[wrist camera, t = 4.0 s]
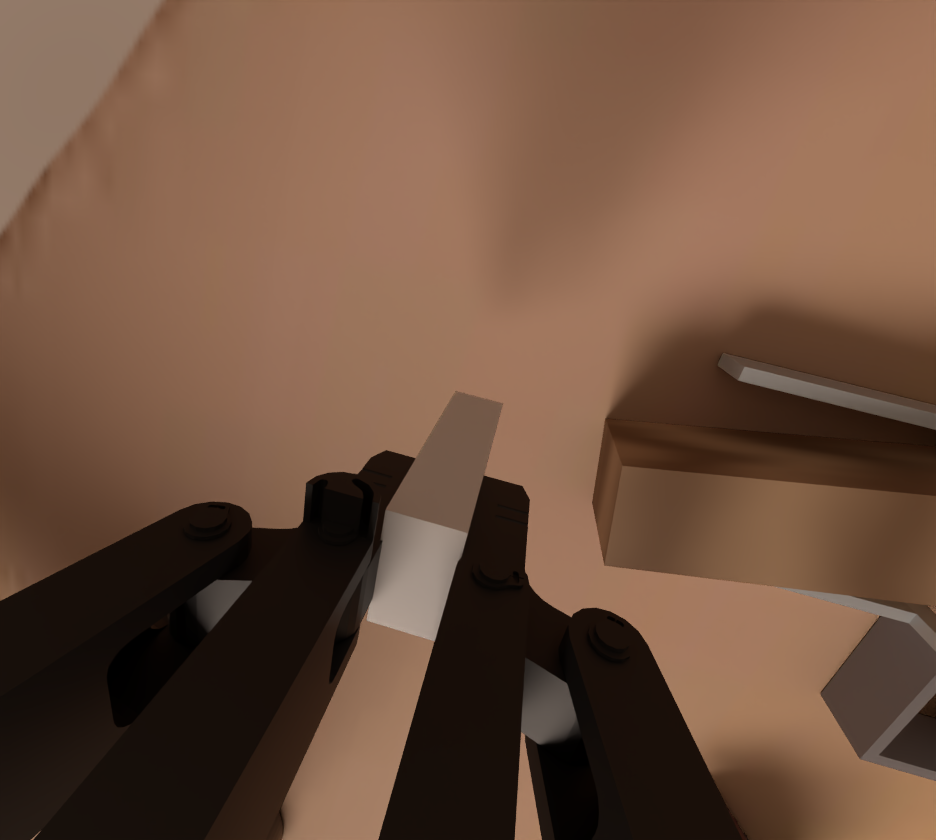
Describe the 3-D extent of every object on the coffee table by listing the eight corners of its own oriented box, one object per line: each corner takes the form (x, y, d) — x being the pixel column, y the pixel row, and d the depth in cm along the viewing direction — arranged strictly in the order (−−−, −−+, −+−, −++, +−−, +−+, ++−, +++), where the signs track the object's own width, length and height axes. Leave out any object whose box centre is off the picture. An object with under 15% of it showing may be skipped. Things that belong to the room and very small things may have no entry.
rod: (591, 499, 20) (604, 565, 16) (604, 416, 19) (622, 465, 15) (1024, 545, 18) (1164, 634, 14) (1077, 455, 17) (1252, 526, 13)
